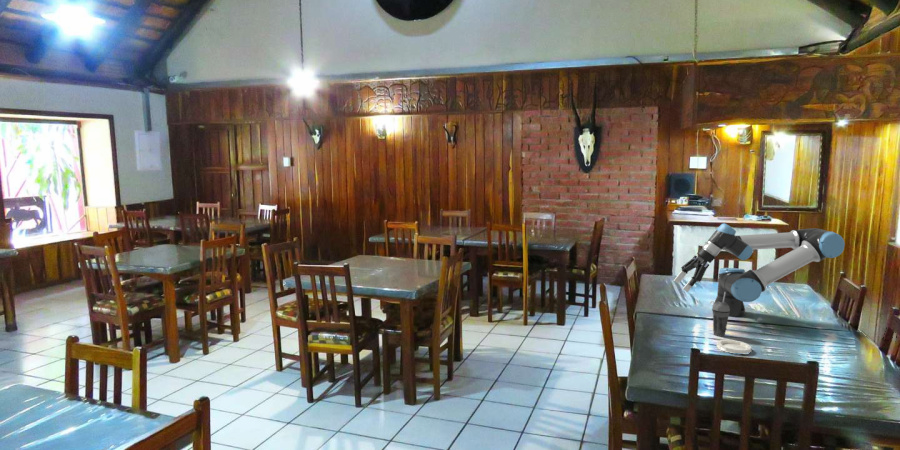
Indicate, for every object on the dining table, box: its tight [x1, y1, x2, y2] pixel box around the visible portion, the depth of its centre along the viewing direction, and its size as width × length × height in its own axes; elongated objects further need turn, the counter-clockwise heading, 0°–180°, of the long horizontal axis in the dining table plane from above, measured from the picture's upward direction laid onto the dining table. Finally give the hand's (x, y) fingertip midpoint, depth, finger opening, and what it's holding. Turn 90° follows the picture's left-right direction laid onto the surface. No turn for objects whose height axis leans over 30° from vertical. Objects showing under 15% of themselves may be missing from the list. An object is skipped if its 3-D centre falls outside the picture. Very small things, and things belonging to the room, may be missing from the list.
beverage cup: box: [711, 292, 730, 338], centre depth 248 cm, size 7×7×20 cm
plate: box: [716, 339, 753, 353], centre depth 232 cm, size 13×13×2 cm
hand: (680, 286), depth 273 cm, fingers open, 13 cm apart
